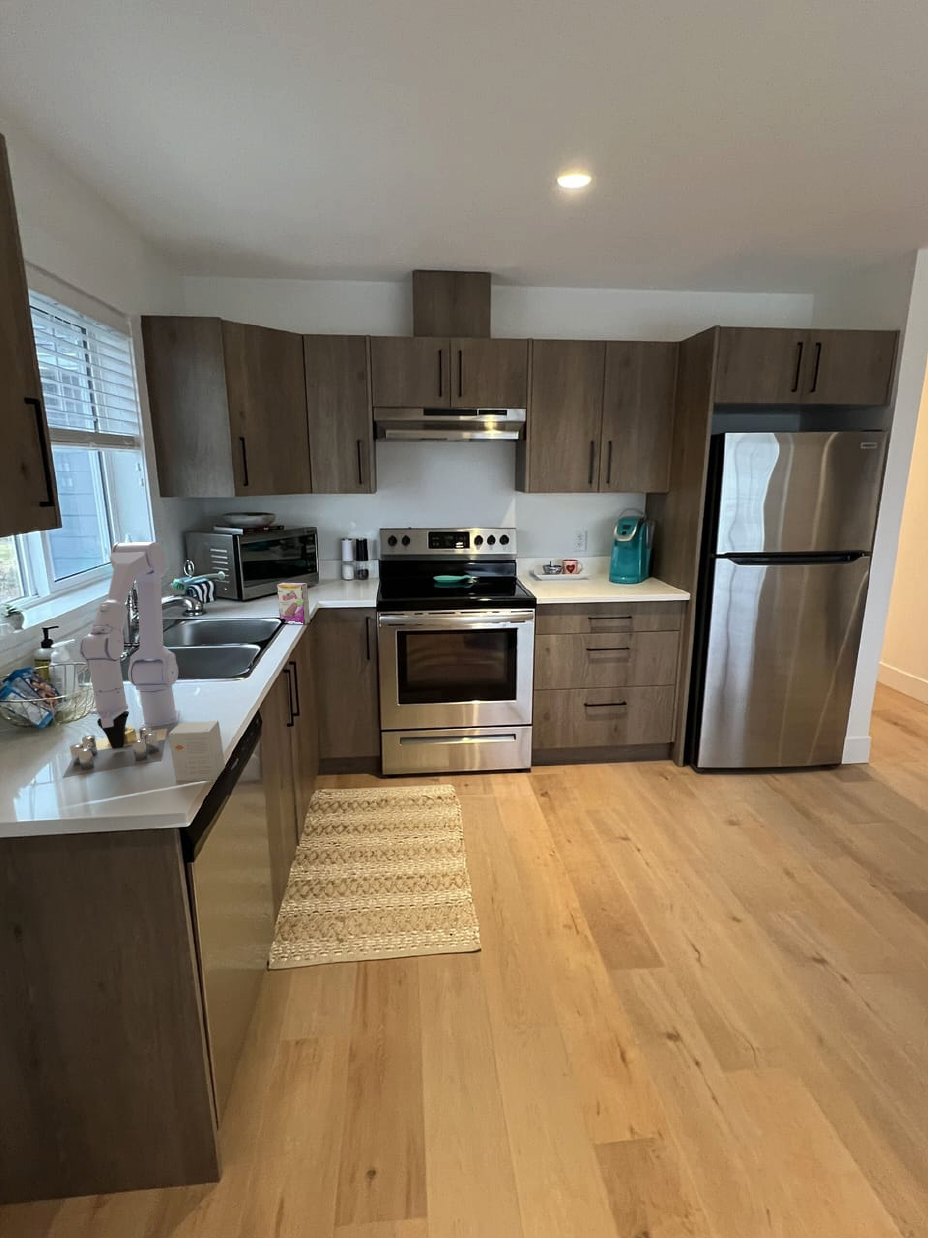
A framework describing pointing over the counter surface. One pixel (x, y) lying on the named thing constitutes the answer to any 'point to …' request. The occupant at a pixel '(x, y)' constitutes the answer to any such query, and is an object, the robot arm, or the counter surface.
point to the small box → (197, 751)
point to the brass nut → (128, 735)
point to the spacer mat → (117, 756)
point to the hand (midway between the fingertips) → (118, 747)
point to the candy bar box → (294, 602)
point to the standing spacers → (88, 749)
